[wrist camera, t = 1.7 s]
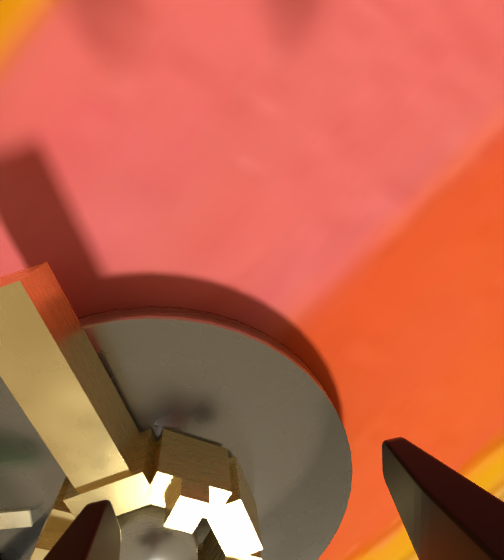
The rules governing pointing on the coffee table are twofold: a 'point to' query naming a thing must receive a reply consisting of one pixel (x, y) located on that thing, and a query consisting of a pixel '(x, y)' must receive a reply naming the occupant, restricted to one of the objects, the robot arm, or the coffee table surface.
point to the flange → (197, 432)
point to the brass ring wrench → (110, 431)
